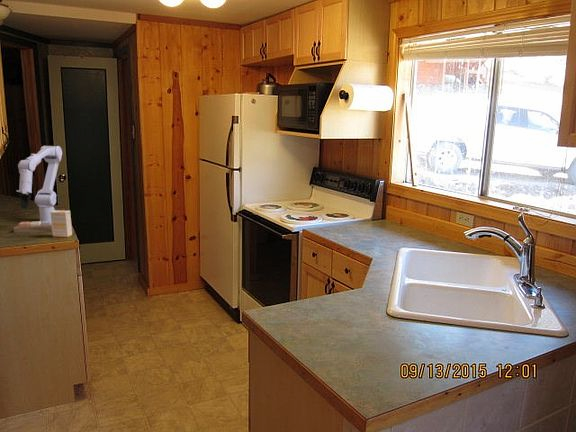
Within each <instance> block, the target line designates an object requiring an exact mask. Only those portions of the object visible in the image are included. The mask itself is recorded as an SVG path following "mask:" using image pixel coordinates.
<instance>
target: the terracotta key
mask: <svg viewBox="0 0 576 432" xmlns="http://www.w3.org/2000/svg"><path fill="white" fill-rule="evenodd" d="M30 222H31V221H21V222H19V223H18V224H19V226H29V225H30Z"/></svg>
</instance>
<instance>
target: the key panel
mask: <svg viewBox="0 0 576 432" xmlns="http://www.w3.org/2000/svg"><path fill="white" fill-rule="evenodd" d="M29 222H30V223H31V222H32V221H29ZM48 231H50V232H52V224H51V225H42V222H41V225H38V226H30V225H29V226H19V223H18V224H17V225H15V226H14V227H13V233H14V234H15V233H16V234H17V233H43V232H45V233H46V232H47V233H48Z"/></svg>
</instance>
